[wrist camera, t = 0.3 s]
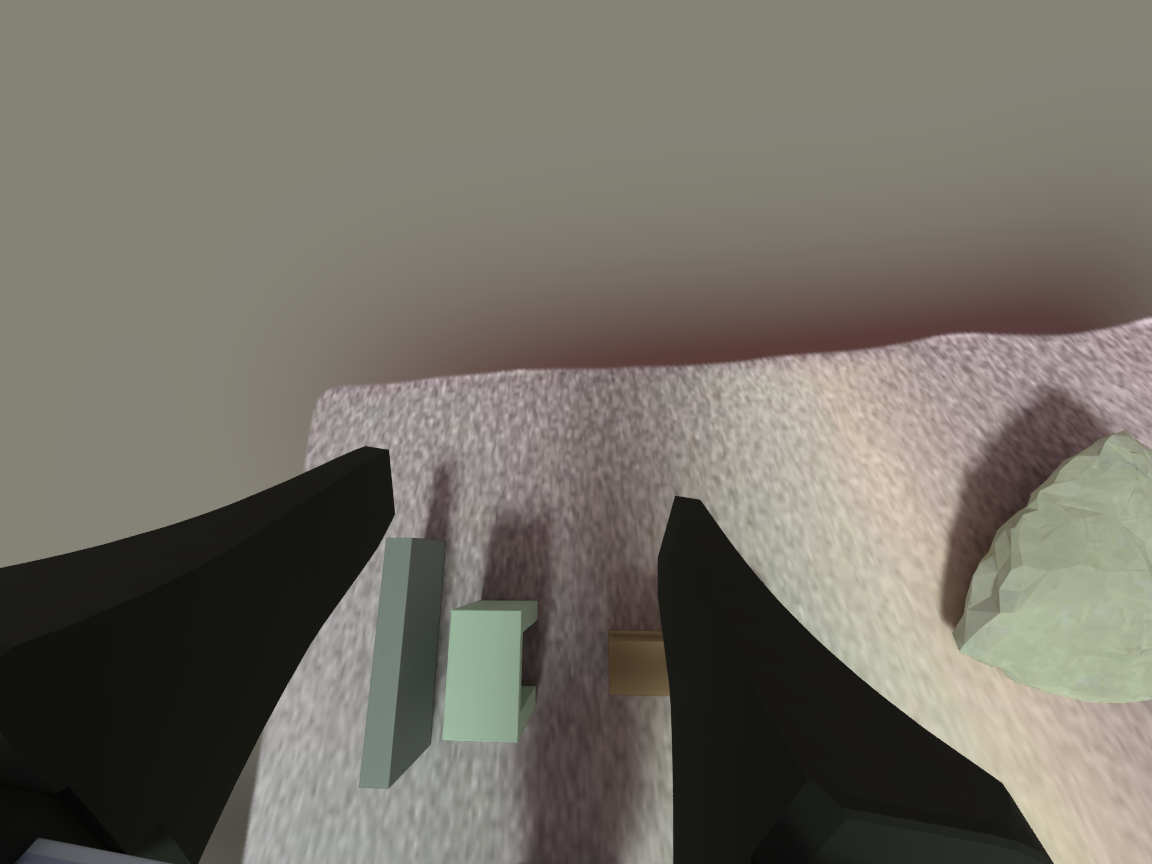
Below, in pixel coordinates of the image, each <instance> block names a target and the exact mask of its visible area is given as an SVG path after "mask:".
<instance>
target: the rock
mask: <svg viewBox="0 0 1152 864" xmlns="http://www.w3.org/2000/svg"><path fill="white" fill-rule="evenodd" d="M952 634H953V637H954V639H955V642H956V644H957V647H958V649H959V652H961V653H963V654H965V655H967V656H969V657H971V658H973V659H975V660H977V661H979V662H981V663H984V664H987V665H990V666H993V667H1000V668H1001V669H1002V670H1003V672H1004V674H1005V675H1006V677H1008V678H1009V679H1011V680H1013V681H1014V682H1016V683H1019V684H1022V685H1026V686H1029V687H1032V688H1035V689H1038V690H1042V691H1045V692H1048V693H1051V694H1055V695H1060V696H1064V697H1069V698H1073V699H1078V700H1082V701H1086V702H1107V703H1127V702H1136V701H1145V700H1150V699H1152V450H1151V449H1149V448H1148V447H1146V446H1145V445H1143V444H1142V443H1140V442H1139V441H1137V440H1136V439H1134V438H1133V437H1132V436H1131V435H1130V434H1129V433H1128V432H1127V431H1126V430H1124V431H1121V432H1118V433H1115V434H1112V435H1109V436H1106V437H1102V438H1100V439H1098V440H1097V441H1095V442H1094V443H1093V445H1091V446H1089V447H1088V448H1086V449H1084V450H1083V451H1081V452H1079V453H1078V454H1077V455H1074V456H1072V457H1070V458H1068V459H1065V460H1063V461H1062V462H1061V464H1060V465H1059V466H1058V467H1057V469H1056V470H1055V471H1054V472H1053V473H1052V474H1051V475H1050V477H1049V478H1048V479H1047V480H1046V481H1045V482H1044V483H1043V484H1041V485H1040V486H1039V487H1038V488H1037V489H1035V490H1034V491H1033V492H1032V493H1031V495H1030V499H1029V502H1028V505H1027V507H1025V508H1024V509H1022V510H1020V511H1018V512H1017V513H1016V514H1015V515H1013V516H1012V517H1011V518H1010V519H1009V520H1008V521H1007V522H1006V523H1005V524H1004V525H1002V526H1001V527H1000V528H999V529H998V530H997V532H996V534H995V537H994V539H993V542H992V545H991V548H990V550H989V552H988V553H987V554H986V555H985V556H984V558H983V559H982V560H981V561H980V562H979V565H978V567H977V570H976V572H975V573H974V575H973V577H972V580H971V584H970V587H969V590H968V593H967V597H966V603H965V609H964V615H963V616H962V618H961V620H960V621H959V623H958V625H957V626H956V628H955V629H954V631H953V633H952Z"/></svg>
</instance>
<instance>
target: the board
mask: <svg viewBox="0 0 1152 864" xmlns="http://www.w3.org/2000/svg"><path fill="white" fill-rule="evenodd" d="M445 543H446V541H445V540H433V539H421V538H386V545H385V554H384V563H383V573H382V582H381V591H380V600H379V609H378V618H377V627H376V637H375V646H374V655H373V664H372V673H371V682H370V691H369V701H368V710H367V719H366V728H365V737H364V746H363V755H362V764H361V774H360V783H359V788H378V789H389V788H390V787H391V786H392V785H393V784H394V782H395V781H396V780H397V779H398V778H399V777H400V776H401V775H402V774H403V773H404V772H405V771H406V770H407V769H408V768H409V767H410V766H411V765H412V764H413V763H414V762H415V761H416V760H417V758H418V757H419V756H420V755H421V754H422V753H423V752H424V751H425V750H426V749H427V748H428V747H429V746H430V742H431V728H432V715H433V702H434V689H435V675H436V662H437V649H438V636H439V622H440V609H441V596H442V582H443V569H444V556H445Z"/></svg>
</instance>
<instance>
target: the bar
mask: <svg viewBox="0 0 1152 864" xmlns="http://www.w3.org/2000/svg"><path fill="white" fill-rule="evenodd" d="M608 652H609V695H641V696H670V690H669V681H668V673H667V665H666V657H665V649H664V641H663V634H662V631H628V630H609V638H608Z"/></svg>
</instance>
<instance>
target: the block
mask: <svg viewBox="0 0 1152 864" xmlns="http://www.w3.org/2000/svg"><path fill="white" fill-rule="evenodd" d="M537 611H538V601H498V600H480V601H477V602H474V603H471V604H468V605H465V606H462V607H459V608H456V609H454V610H451V623H450V638H449V652H448V666H447V681H446V695H445V710H444V724H443V738H442V740H457V741H486V742H516V743H517V742H518V740H519V738H520V736H521V734H522V732H523V730H524V728H525V726H526V724H527V722H528V720H529V718H530V716H531V715H532V713H533V711H534V709H535V702H536V686H521V677H522V644H523V632H524V631H525V630H526V629H527V628H528V627H530V626H531V625H532V624H533V623H534V622H535V621H537Z"/></svg>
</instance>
